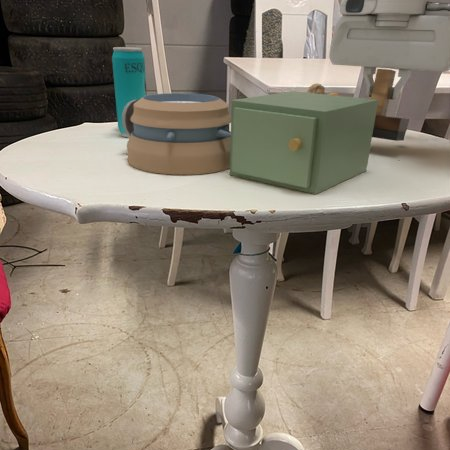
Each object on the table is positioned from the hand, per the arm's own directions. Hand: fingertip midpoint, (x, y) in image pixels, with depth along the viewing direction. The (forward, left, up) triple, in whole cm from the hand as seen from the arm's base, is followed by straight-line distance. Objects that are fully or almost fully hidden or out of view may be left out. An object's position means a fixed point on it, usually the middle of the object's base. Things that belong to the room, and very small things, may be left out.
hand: (381, 98), depth 80 cm
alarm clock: (+22, +28, -9) cm, 36 cm away
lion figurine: (+18, -15, -9) cm, 25 cm away
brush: (0, +2, -6) cm, 6 cm away
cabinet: (+2, +23, -9) cm, 25 cm away
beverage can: (+40, +21, -9) cm, 46 cm away
